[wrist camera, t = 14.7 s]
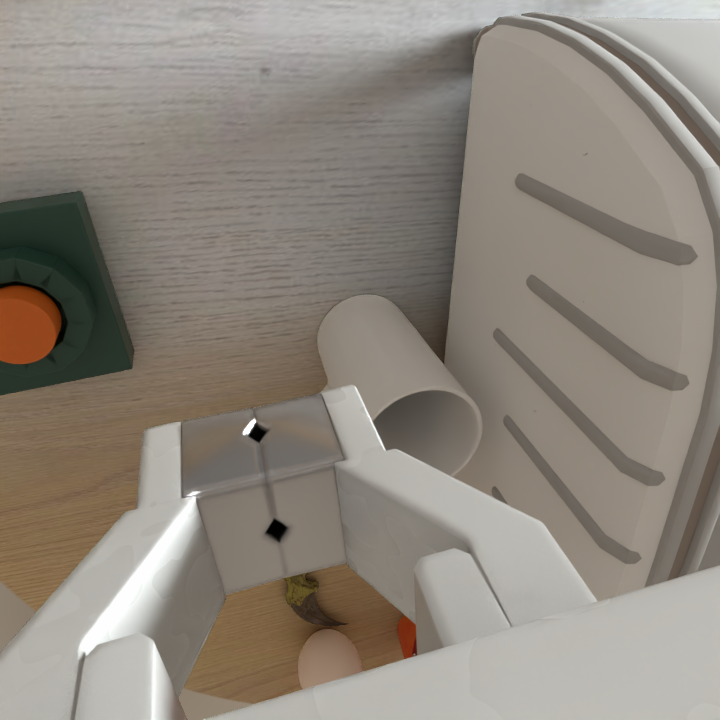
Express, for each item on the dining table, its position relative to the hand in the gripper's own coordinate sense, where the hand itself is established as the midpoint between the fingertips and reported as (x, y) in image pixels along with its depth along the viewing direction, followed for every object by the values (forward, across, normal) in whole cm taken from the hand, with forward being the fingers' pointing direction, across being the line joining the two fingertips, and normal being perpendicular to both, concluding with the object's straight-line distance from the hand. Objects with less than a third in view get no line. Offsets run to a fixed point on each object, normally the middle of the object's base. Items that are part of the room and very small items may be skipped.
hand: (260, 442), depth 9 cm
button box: (+28, +11, +8) cm, 31 cm away
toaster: (+28, -22, +19) cm, 40 cm away
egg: (+27, -1, +45) cm, 52 cm away
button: (+24, +11, +8) cm, 27 cm away
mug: (+28, -6, +16) cm, 32 cm away
